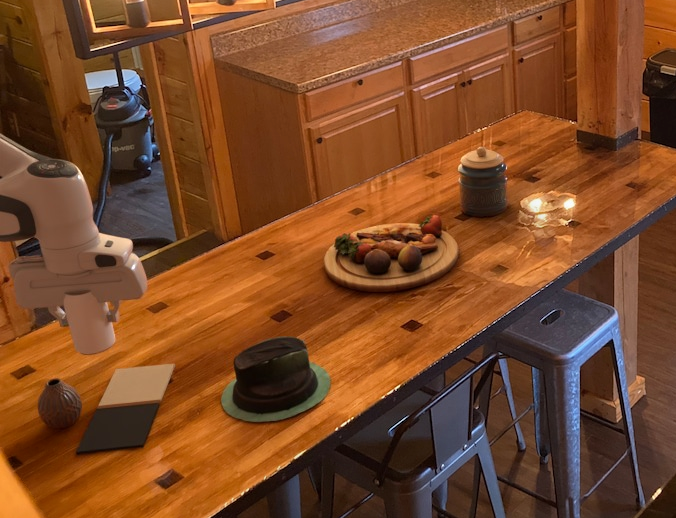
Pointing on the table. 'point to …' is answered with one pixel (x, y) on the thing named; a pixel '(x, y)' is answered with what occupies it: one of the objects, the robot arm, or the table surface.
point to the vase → (59, 404)
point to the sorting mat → (127, 409)
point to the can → (88, 323)
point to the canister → (483, 183)
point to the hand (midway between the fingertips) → (90, 322)
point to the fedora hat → (274, 381)
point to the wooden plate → (391, 256)
